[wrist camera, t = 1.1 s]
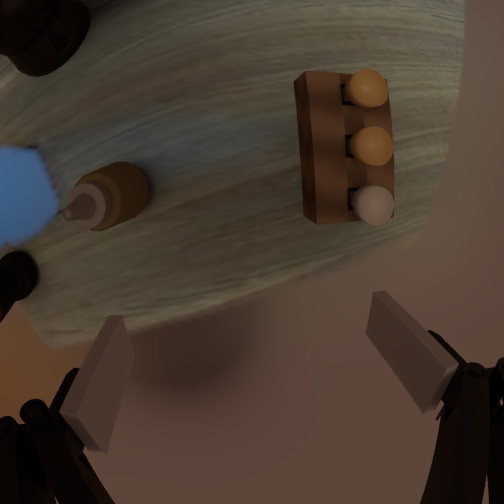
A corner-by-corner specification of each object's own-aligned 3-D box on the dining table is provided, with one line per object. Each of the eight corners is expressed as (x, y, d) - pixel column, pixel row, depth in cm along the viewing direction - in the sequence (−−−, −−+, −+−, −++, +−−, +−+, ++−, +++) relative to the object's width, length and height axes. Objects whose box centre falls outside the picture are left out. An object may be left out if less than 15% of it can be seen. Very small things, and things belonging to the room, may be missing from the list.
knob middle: (331, 129, 34) (358, 125, 27) (361, 130, 35) (392, 127, 27) (333, 163, 36) (360, 166, 28) (363, 162, 36) (394, 166, 29)
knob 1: (326, 81, 32) (351, 66, 24) (356, 84, 32) (385, 72, 25) (330, 112, 33) (356, 104, 26) (360, 114, 34) (390, 108, 26)
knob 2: (334, 180, 37) (361, 187, 29) (363, 179, 37) (394, 186, 29) (335, 213, 38) (361, 227, 31) (364, 210, 38) (393, 224, 31)
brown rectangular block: (293, 81, 35) (305, 70, 29) (366, 86, 36) (386, 79, 30) (303, 214, 41) (316, 224, 36) (373, 209, 42) (393, 217, 37)
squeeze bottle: (161, 167, 37) (116, 177, 20) (147, 221, 39) (101, 268, 22) (110, 155, 35) (41, 160, 18) (99, 208, 38) (32, 245, 21)
